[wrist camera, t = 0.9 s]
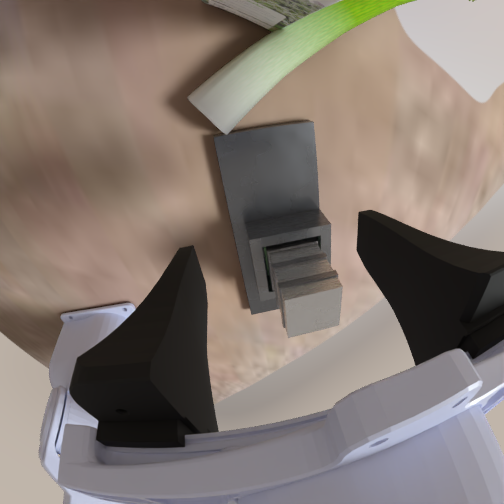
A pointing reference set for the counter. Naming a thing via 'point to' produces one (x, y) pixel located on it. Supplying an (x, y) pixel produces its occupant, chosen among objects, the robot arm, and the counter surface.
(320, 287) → the column
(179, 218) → the counter surface
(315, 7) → the syrup box
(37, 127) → the counter surface
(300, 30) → the leek
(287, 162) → the stand
